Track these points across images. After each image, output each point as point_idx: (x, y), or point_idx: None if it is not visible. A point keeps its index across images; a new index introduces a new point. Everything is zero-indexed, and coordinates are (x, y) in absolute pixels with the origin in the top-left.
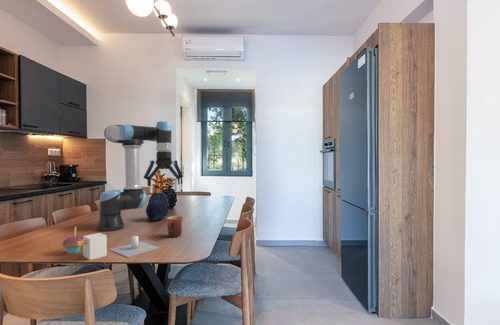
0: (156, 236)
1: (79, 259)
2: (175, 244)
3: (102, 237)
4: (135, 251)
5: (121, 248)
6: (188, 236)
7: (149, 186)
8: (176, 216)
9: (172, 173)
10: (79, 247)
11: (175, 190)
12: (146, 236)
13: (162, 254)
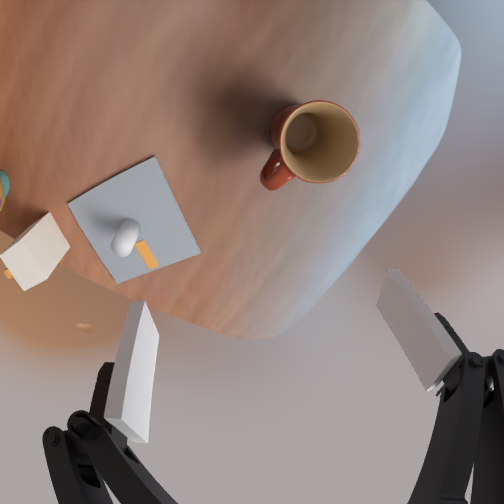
0: (226, 95)
1: None
2: (257, 234)
3: (41, 280)
4: (133, 257)
5: (95, 212)
6: None
7: (120, 349)
8: (342, 111)
9: (456, 427)
10: (4, 195)
11: (384, 286)
12: (189, 76)
13: (200, 297)
